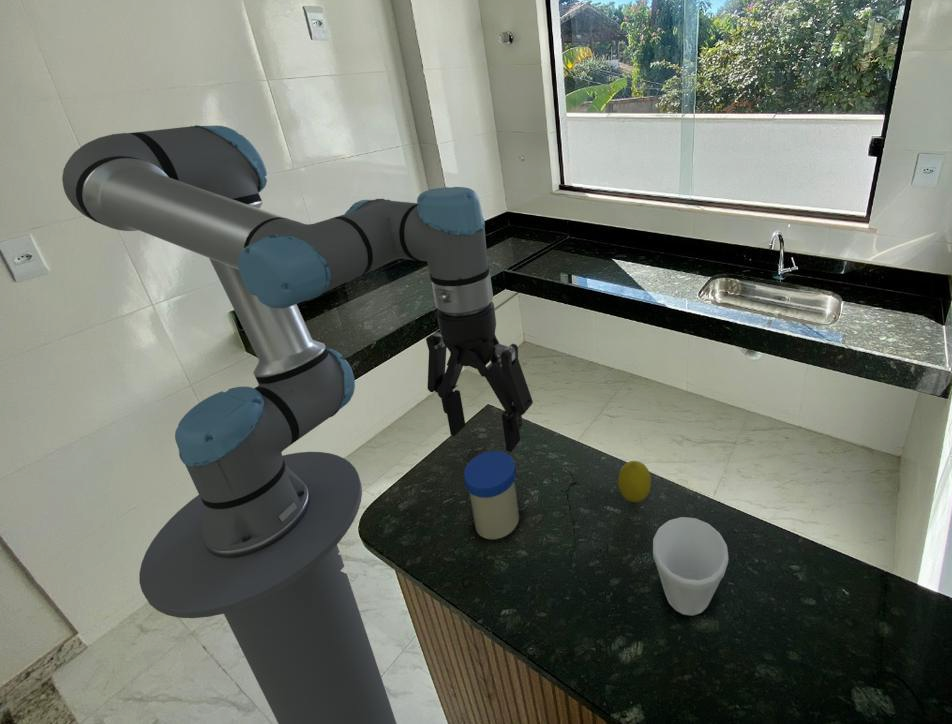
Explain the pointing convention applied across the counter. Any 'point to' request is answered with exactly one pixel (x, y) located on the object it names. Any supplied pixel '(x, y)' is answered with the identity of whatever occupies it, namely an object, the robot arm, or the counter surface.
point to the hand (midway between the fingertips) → (485, 437)
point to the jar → (495, 514)
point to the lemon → (634, 481)
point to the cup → (689, 563)
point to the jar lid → (489, 474)
